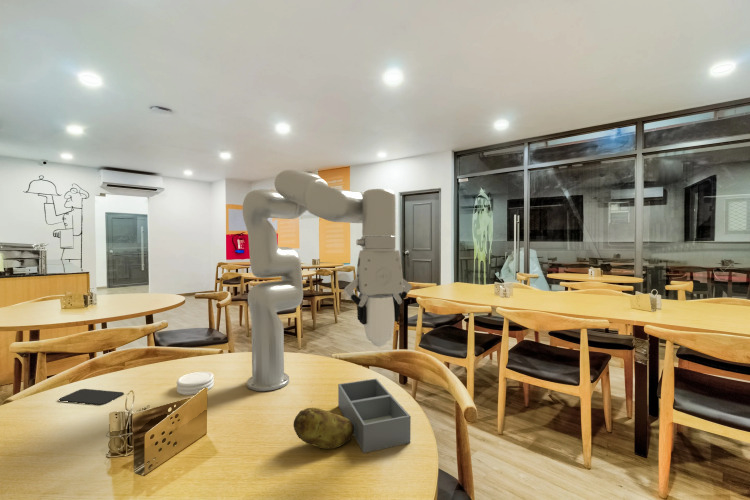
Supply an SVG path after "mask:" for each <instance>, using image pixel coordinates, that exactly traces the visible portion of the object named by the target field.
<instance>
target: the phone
mask: <svg viewBox="0 0 750 500" xmlns="http://www.w3.org/2000/svg"><path fill="white" fill-rule="evenodd" d="M124 395H125V393H124V392H123V391H114V390H103V389H93V388H91V389H89V388H82V389H78V390H75V391H74V392H71V393H69V394H66V395H64V396H61V397H60V398H58V401H59V400H60V401H68V402H77V403H76V404H79V403H85V404H84V405H90V404H93V405H94V406H104V405H107V404H109V403H111V402H113V401H115V400H116V399H118V398H120V397H122V396H124ZM112 400H113V401H112ZM93 405H92V406H93Z"/></svg>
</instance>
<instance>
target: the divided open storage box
mask: <svg viewBox="0 0 750 500" xmlns="http://www.w3.org/2000/svg"><path fill="white" fill-rule="evenodd" d="M337 388H338V390H337V392H338V393H337V396H338V399H337V400H338V409H339V410H340V411H341V413H342V415H343V417H345V418H347V419H349V420H350V421H351V422H352V423H353V426H354V433H353V436H354V438H355V440H356V442H357V444H358V446H359V447H360V449H361V450H362V453H364V454H366V453H370V452H374V451H379V450H383V449H388V448H392V447H393V448H394V447H396V446H400V445H405V444H406V445H407V444H410V443H411V419H412V418H411V415H410V413H408V412H407V411H406V410H405V408H404V407H403V406H402V405H401V404H400V403H399V402H398V401H397V400H396V398H395V397H394V396H393V395H392V394H391V393H390V392H389V391H388V389H386V387H385V386H384V385H383V384H382V383H381V382H380V381H379V379H377V378H372V379H363V380H357V381H352V382H351V381H350V382H344V383H338V387H337Z"/></svg>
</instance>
